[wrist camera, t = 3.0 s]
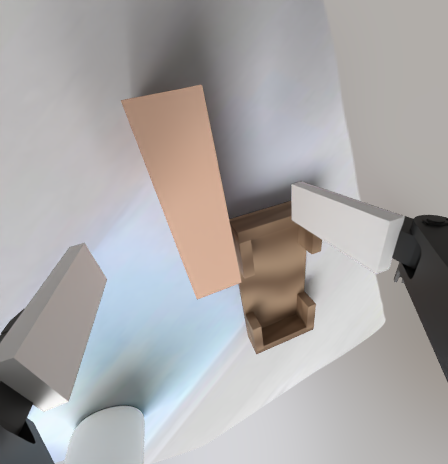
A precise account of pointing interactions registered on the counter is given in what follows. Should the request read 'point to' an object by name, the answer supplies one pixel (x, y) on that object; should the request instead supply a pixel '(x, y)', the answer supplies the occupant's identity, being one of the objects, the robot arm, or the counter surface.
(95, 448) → the wine bottle
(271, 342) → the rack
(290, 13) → the counter surface
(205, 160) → the peach rectangular block
